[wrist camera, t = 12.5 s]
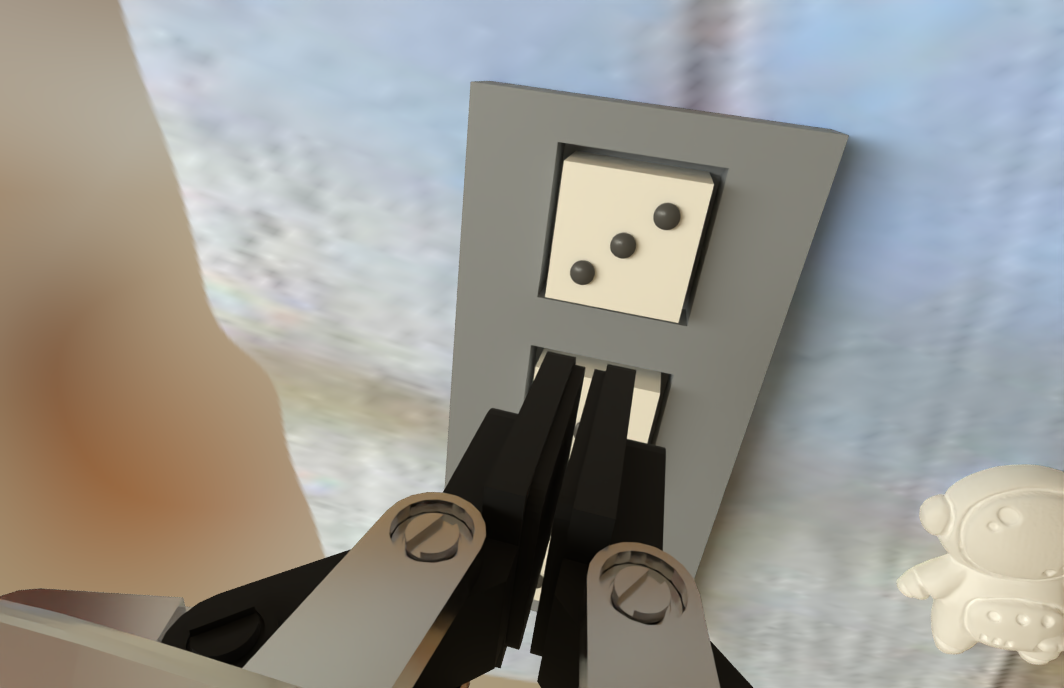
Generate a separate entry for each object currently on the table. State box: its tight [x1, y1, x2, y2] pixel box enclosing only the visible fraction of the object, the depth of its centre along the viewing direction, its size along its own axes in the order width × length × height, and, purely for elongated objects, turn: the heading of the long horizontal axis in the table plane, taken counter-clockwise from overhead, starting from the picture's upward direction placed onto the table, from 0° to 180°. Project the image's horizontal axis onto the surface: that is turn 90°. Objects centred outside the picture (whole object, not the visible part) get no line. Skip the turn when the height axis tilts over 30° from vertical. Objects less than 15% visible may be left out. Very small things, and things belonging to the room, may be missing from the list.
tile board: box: [445, 81, 849, 612], centre depth 29 cm, size 14×28×2 cm, turn 173°
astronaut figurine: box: [897, 464, 1064, 665], centre depth 28 cm, size 9×12×3 cm
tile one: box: [534, 348, 661, 458], centre depth 28 cm, size 6×6×3 cm
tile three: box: [545, 151, 714, 323], centre depth 24 cm, size 6×6×3 cm
